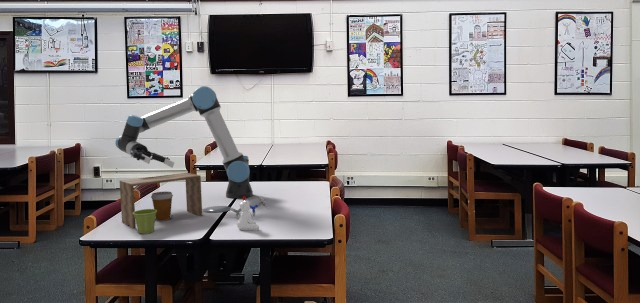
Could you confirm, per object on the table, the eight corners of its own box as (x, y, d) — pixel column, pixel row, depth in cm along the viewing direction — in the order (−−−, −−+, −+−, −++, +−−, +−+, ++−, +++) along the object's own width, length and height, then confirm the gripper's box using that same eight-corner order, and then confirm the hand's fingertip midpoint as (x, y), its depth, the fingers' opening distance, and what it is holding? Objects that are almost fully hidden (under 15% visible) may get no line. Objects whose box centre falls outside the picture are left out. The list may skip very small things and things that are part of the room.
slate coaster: (231, 205, 237) (231, 205, 237) (231, 211, 224) (231, 211, 224) (203, 207, 235) (203, 206, 235) (201, 213, 221) (201, 213, 221)
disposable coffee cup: (167, 221, 206) (165, 195, 205) (148, 221, 208) (146, 195, 207) (177, 216, 215) (176, 191, 214) (159, 216, 217) (158, 191, 216)
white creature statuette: (260, 230, 189) (259, 201, 188) (239, 232, 186) (238, 203, 185) (255, 225, 198) (254, 197, 196) (235, 227, 195) (234, 199, 194)
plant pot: (136, 236, 183) (135, 215, 182) (131, 231, 191) (130, 210, 190) (160, 232, 188) (159, 212, 187) (155, 227, 196) (154, 207, 195)
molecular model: (267, 212, 220) (263, 192, 221) (271, 213, 212) (267, 191, 213) (230, 220, 214) (226, 199, 214) (233, 220, 206) (229, 198, 207)
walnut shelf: (122, 222, 206) (119, 180, 204) (188, 210, 227) (187, 172, 226) (133, 228, 196) (130, 184, 194) (202, 215, 217) (200, 175, 215)
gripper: (155, 160, 243) (179, 173, 231) (112, 153, 223) (136, 167, 211) (160, 147, 243) (184, 159, 231) (117, 138, 222) (141, 151, 210)
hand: (161, 163), depth 221 cm, fingers open, 13 cm apart
